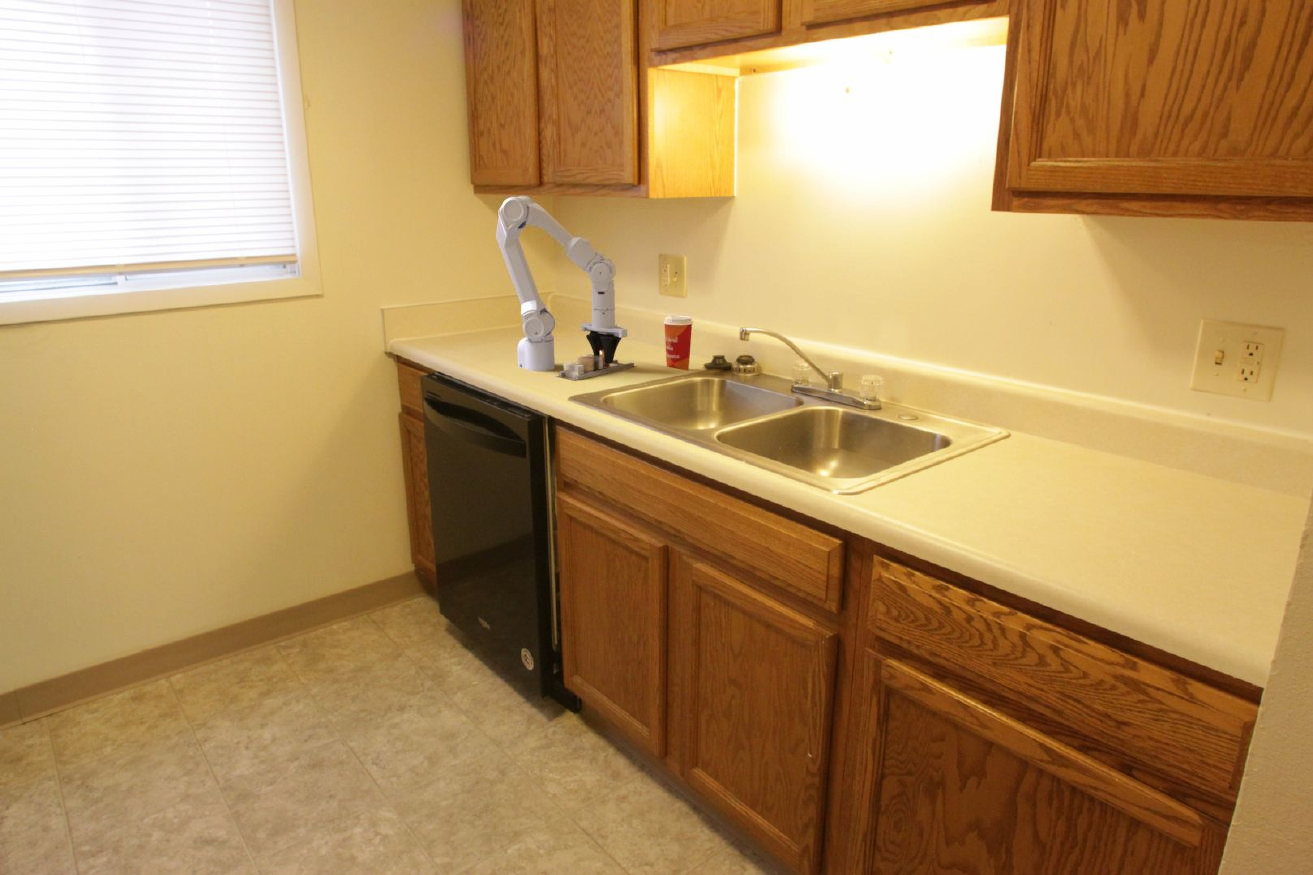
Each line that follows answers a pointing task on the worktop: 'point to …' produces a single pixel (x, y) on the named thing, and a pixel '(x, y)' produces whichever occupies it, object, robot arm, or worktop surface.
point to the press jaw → (600, 361)
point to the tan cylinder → (586, 363)
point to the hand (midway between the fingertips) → (604, 362)
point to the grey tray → (577, 372)
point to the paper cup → (678, 341)
